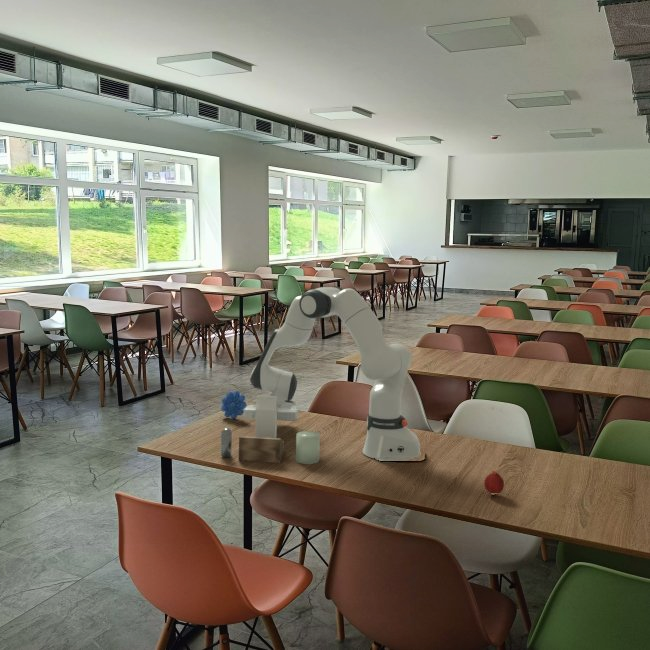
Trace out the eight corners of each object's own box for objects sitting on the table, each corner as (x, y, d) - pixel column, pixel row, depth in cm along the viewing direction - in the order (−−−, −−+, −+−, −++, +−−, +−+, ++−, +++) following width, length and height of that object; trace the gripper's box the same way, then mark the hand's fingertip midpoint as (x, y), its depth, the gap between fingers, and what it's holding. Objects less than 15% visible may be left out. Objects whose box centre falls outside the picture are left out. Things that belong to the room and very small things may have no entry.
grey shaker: (232, 454, 223) (232, 427, 222) (230, 458, 219) (230, 430, 218) (222, 453, 223) (222, 426, 222) (219, 457, 220) (220, 429, 218)
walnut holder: (283, 453, 226) (283, 431, 225) (279, 462, 217) (280, 439, 216) (243, 450, 227) (244, 429, 226) (238, 460, 218) (239, 437, 217)
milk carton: (274, 451, 228) (275, 399, 225) (254, 450, 228) (255, 398, 225) (276, 444, 235) (277, 394, 232) (256, 443, 235) (258, 393, 232)
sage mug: (313, 452, 228) (314, 428, 227) (321, 463, 218) (322, 437, 217) (291, 454, 226) (292, 429, 224) (298, 464, 216) (299, 439, 214)
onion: (488, 490, 201) (490, 465, 200) (506, 495, 197) (508, 470, 196) (480, 495, 196) (482, 470, 195) (497, 501, 193) (499, 475, 191)
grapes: (250, 418, 266) (251, 389, 264) (243, 422, 260) (243, 393, 258) (226, 414, 270) (226, 386, 268) (218, 418, 264) (218, 389, 262)
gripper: (246, 399, 248) (239, 409, 234) (299, 402, 246) (295, 412, 233) (246, 415, 249) (239, 425, 235) (299, 418, 247) (295, 428, 234)
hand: (268, 419), depth 234 cm, fingers closed
